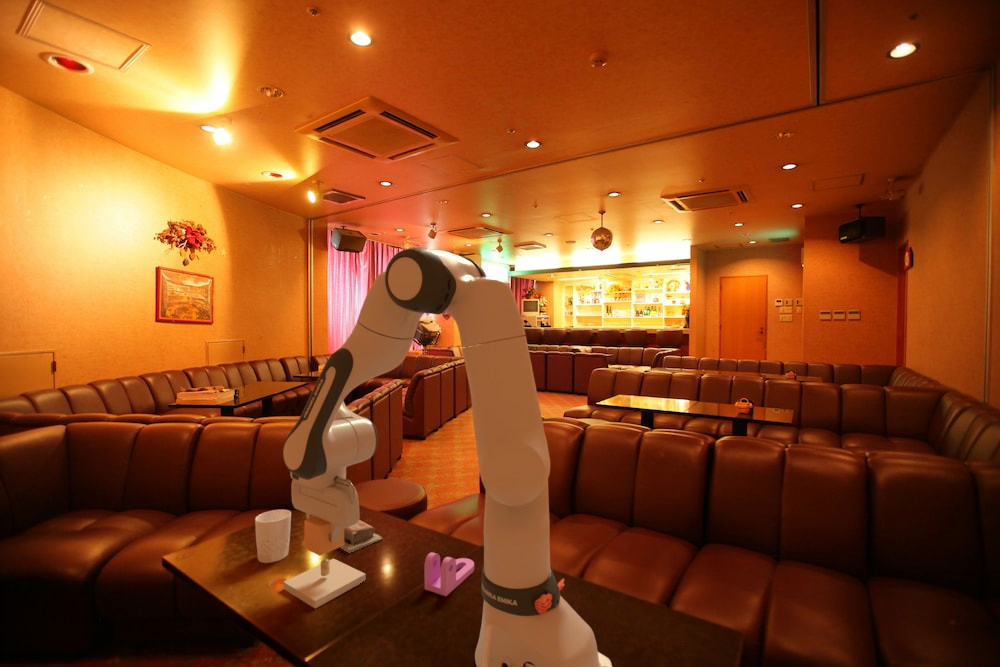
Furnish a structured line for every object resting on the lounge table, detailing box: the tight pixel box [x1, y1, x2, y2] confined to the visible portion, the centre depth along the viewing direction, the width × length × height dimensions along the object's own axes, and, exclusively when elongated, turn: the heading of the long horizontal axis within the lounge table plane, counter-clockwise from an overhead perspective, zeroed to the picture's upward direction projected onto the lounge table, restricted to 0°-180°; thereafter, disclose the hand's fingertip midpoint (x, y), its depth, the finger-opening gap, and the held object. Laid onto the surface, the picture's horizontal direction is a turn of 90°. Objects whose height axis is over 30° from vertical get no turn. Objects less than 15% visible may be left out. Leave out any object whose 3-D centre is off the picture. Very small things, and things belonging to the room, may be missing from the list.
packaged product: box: [340, 519, 383, 554], centre depth 117 cm, size 18×5×10 cm
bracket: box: [423, 552, 475, 597], centre depth 96 cm, size 13×6×7 cm, turn 152°
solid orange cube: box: [304, 517, 344, 557], centre depth 94 cm, size 6×6×6 cm
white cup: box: [254, 509, 292, 564], centre depth 106 cm, size 8×8×10 cm
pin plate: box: [282, 558, 367, 610], centre depth 94 cm, size 12×12×6 cm
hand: (324, 537), depth 94 cm, fingers closed on solid orange cube, 6 cm apart
